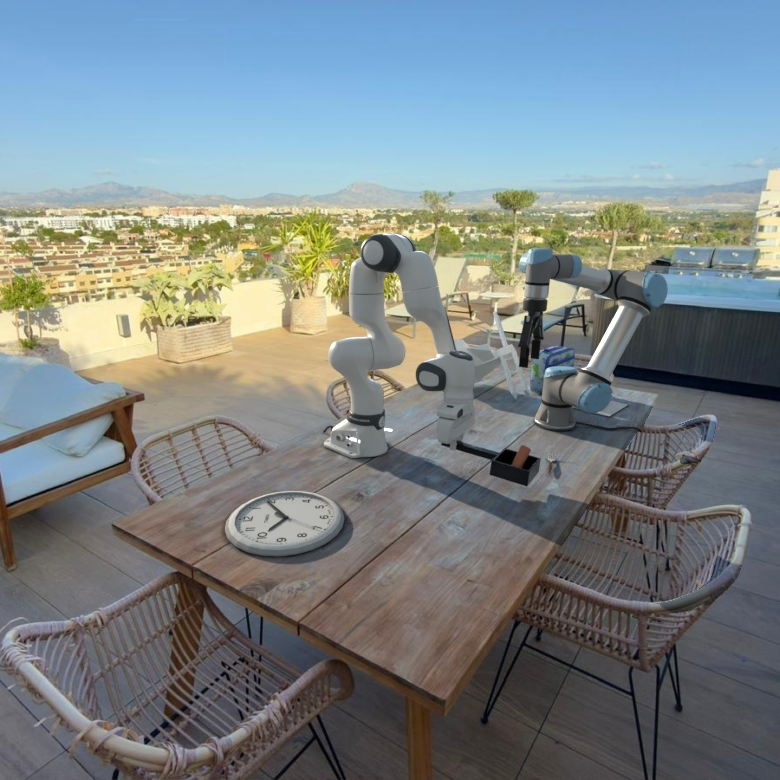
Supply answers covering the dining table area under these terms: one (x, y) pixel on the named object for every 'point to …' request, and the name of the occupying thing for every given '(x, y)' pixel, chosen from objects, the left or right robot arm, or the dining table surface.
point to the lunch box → (549, 364)
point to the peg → (521, 456)
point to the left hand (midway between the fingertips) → (456, 447)
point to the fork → (551, 460)
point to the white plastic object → (494, 359)
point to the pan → (504, 463)
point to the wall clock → (284, 523)
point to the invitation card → (611, 408)
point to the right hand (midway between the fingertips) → (529, 362)
